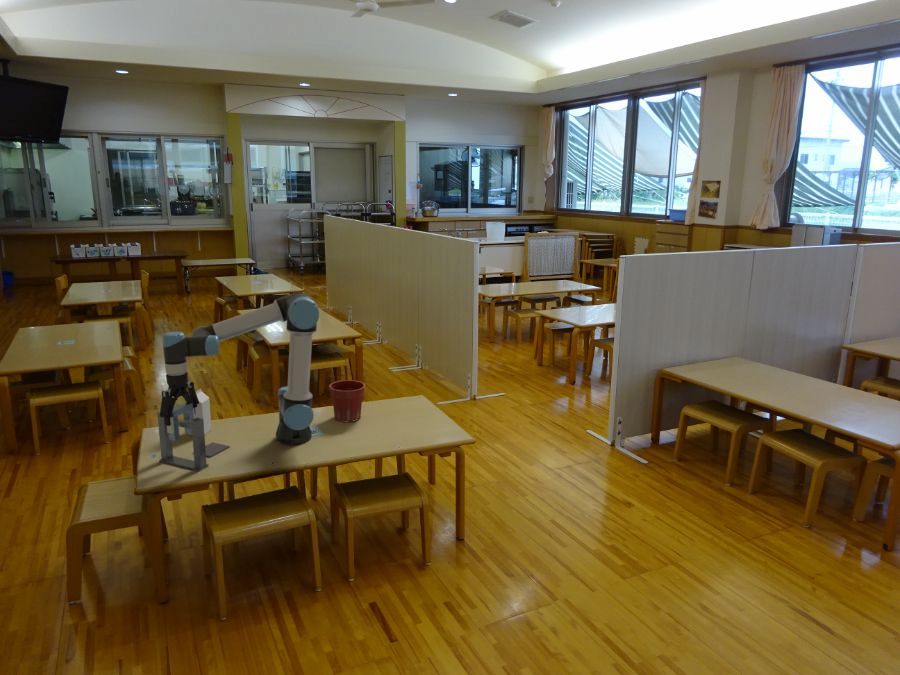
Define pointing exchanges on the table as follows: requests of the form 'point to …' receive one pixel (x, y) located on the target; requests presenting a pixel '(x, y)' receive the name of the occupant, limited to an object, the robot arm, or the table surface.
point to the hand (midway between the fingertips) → (181, 428)
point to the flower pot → (347, 399)
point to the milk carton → (203, 410)
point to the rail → (198, 444)
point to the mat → (214, 449)
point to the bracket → (188, 416)
